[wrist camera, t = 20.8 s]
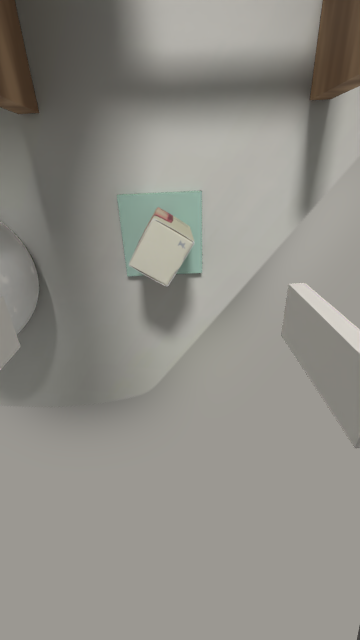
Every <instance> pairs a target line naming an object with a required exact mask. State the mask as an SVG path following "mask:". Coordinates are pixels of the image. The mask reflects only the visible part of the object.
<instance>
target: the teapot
mask: <svg viewBox="0 0 360 640" xmlns="http://www.w3.org/2000/svg"><path fill="white" fill-rule="evenodd" d="M38 295H39V280H38V275H37V271H36V267H35V265H34V262H33V260H32V258H31V256H30V254H29V252H28V250H27V249H26V247H25V246H24V244H23V243H22V242H21V240H20V239H19V238H18V237H17V236H16V234H15V233H14V232H13V231H12V230H10V229H9V228H8V227H7V226H6V225H5V224H3V223H2V222H1V221H0V296H3V297H4V300H5V303H6V306H7V309H8V311H9V314H10V317H11V320H12V323H13V326H14V329H15V332H16V334H18V333H19V332H20V331H21V330H22V329H23V328H24V326H25V325H26V324H27V322H28V321H29V319H30V318H31V316H32V314H33V312H34V310H35V307H36V305H37V301H38Z"/></svg>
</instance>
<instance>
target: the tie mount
mask: <svg viewBox="0 0 360 640" xmlns="http://www.w3.org/2000/svg"><path fill="white" fill-rule="evenodd" d="M358 86H360V0H323V4H322V12H321V19H320V27H319V34H318V42H317V49H316V57H315V64H314V72H313V79H312V86H311V94H310V100H325V99H332V98H334V97H336V96H339V95H341V94H343V93H345V92H347V91H349V90H352V89H354V88H356V87H358ZM0 107H1V108H4V109H7V110H9V111H12V112H15V113H17V114H28V113H39V110H38V105H37V100H36V96H35V91H34V87H33V82H32V78H31V73H30V68H29V64H28V59H27V55H26V50H25V46H24V41H23V36H22V32H21V27H20V23H19V18H18V14H17V9H16V4H15V0H0Z"/></svg>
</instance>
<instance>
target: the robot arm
mask: <svg viewBox="0 0 360 640" xmlns="http://www.w3.org/2000/svg"><path fill="white" fill-rule="evenodd" d="M281 336H282V338H283V339H284V341H285V342H286V344H287V345H288V347H289V348H290V350H291V351H292V353H293V354H294V356H295V357H296V359H297V360H298V362H299V363H300V365H301V367H302V368H303V370H304V371H305V373H306V374H307V376H308V377H309V379H310V380H311V382H312V383H313V385H314V386H315V388H316V389H317V391H318V393H319V394H320V396H321V397H322V398H323V400H324V402H325V403H326V405H327V406H328V408H329V409H330V411H331V412H332V414H333V415H334V417H335V418H336V420H337V422H338V423H339V424H340V426H341V428H342V429H343V431H344V432H345V434H346V435H347V437H348V438H349V440H350V441H351V443H352V444H353V446H354V447H355V448H360V330H359V329H358V328H357V327H356V326H355V325H354V324H353V323H351V322H350V321H349V320H348V319H347V318H346V317H344V316H343V315H342V314H341V313H340V312H338V311H337V310H336V309H335V308H334V307H333V306H331V305H330V304H329V303H328V302H327V301H325V300H324V299H323V298H322V297H321V296H320V295H319V294H317V293H316V292H315V291H314V290H313V289H312V288H310V287H309V286H308V285H307V284H306V283H295V284H288V291H287V298H286V306H285V312H284V319H283V325H282V332H281ZM20 347H21V346H20V343H19V340H18V337H17V334H16V332H15V329H14V326H13V323H12V320H11V317H10V314H9V311H8V309H7V306H6V303H5V300H4V297H3V296H0V370H1V369H2V368H3V367H4V366H5V365H6V363H7V362H8V361H9V360H10V359H11V358H12V356H13V355H14V354H15V353H16V352H17V351H18V349H19V348H20ZM357 640H360V627H359V632H358V637H357Z"/></svg>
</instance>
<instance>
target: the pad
mask: <svg viewBox="0 0 360 640" xmlns="http://www.w3.org/2000/svg"><path fill="white" fill-rule="evenodd" d="M117 200H118V208H119V215H120V223H121V231H122V238H123V246H124V253H125V261H126V269H127V276H144V274H142V273H140V272H139V271H137V270H135V269H133V268H132V267H130V266H129V262H130V260H131V258H132V256H133V253H134V251H135V249H136V247H137V245H138V243H139V241H140V239H141V237H142V235H143V233H144V230H145V228H146V226H147V225H148V223H149V221H150V219H151V217H152V215H153V214H154V212H155V210H156V208H158V207H159V208H161V209H163V210H164V211H166V212H168V213H169V214H171V215H173V216H175V217H176V218H178V219H179V220H181V221H182V222H184V223H186V224H187V225H189V226H190V229H191V232H192V235H193V238H194V242H195V243H194V245H193V247H192V248H191V250H190V252H189V253H188V255H187V257H186V258H185V260H184V262H183V263H182V265H181V267H180V268H179V270H178V271H177V273H176V274H187V273H202V191H186V192H165V193H144V194H122V195H117Z"/></svg>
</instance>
